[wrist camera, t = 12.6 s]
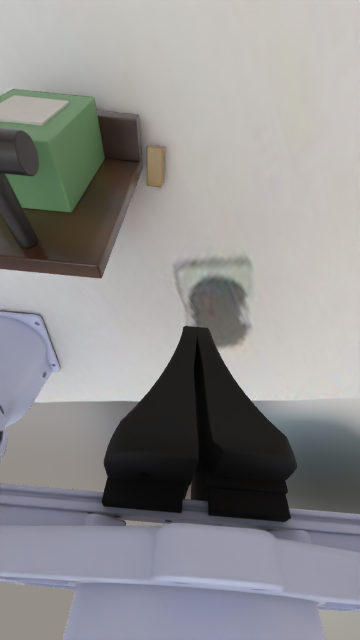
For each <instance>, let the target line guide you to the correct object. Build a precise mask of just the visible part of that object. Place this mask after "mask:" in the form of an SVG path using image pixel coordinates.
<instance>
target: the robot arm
mask: <svg viewBox="0 0 360 640" xmlns="http://www.w3.org/2000/svg"><path fill="white" fill-rule="evenodd" d="M59 371H60V366H59V364H58V361H57V358H56V355H55V353H54V350H53V347H52V345H51V342H50V339H49V336H48V334H47V331H46V328H45V326H44V323H43V320H42V318H41V317H40V316H39V315H33V314H23V313H12V312H2V311H0V461H1V460H2V458H3V455H4V453H5V450H6V446H7V440H8V434H7V432H6V431H5V430H4V428H5V427H7V426H10V425H12V424H13V423H15V422H17V421H18V420H19V419H21V418H22V417H23V416H24V415H25V414H26V413H27V412H28V410H29V409H30V407H31V406H32V404H33V402H34V401H35V399H36V397H37V396H38V394H39V392H40V391H41V389H42V387H43V386H44V384H45V382H46V381H47V379H48V377H49V376H50V374H51V372H59ZM104 467H105V470H106V473H107V476H108V478H107V482H106V486H105V490H104V492H95V491H84V490H73V489H61V488H50V487H38V486H27V485H14V484H4V483H0V582H3V583H14V584H25V585H35V586H45V587H55V588H66V589H75V594H74V597H73V601H72V605H71V609H70V613H69V616H68V620H67V624H66V628H65V631H64V635H63V639H62V640H326V639H325V635H324V631H323V627H322V623H321V619H320V615H319V611H318V609H324V610H338V611H354V612H360V514H348V513H337V512H326V511H315V510H302V509H292V508H289V507H288V503H287V499H286V495H285V494H286V493H287V492H288V490H287V486H286V482H285V480H287V479H288V478H289V477H290V476H291V475H292V474H293V473H294V471H295V470H296V468H297V463H296V460H295V456H294V454H293V451H292V449H291V446H290V444H289V442H288V439H287V437H286V436H285V435H284V434H283V433H282V432H281V431H280V430H278V429H277V428H276V427H275V426H274V425H273V424H272V423H271V422H270V421H269V420H268V419H267V418H266V417H265V416H264V415H263V414H262V413H261V412H260V411H259V410H258V408H257V407H256V406H255V405H254V404H253V403H252V402H251V400H250V399H249V398H248V397H247V396H246V394H245V393H244V392H243V390H242V389H241V388H240V387H239V385H238V384H237V382H236V381H235V379H234V378H233V376H232V375H231V373H230V372H229V370H228V368H227V367H226V365H225V363H224V362H223V360H222V358H221V356H220V354H219V352H218V350H217V348H216V346H215V344H214V341H213V339H212V336H211V333H210V330H209V329H208V328H201V327H191V326H185V327H183V332H182V335H181V338H180V341H179V344H178V346H177V348H176V350H175V352H174V354H173V356H172V358H171V360H170V362H169V363H168V365H167V367H166V368H165V370H164V372H163V373H162V374H161V376H160V377H159V379H158V380H157V382H156V383H155V384H154V386H153V387H152V388H151V389H150V391H149V392H148V393H147V394H146V395H145V396H144V398H143V399H142V400H141V401H140V402H139V403H138V404H137V405H136V407H135V408H134V409H133V410H132V411H131V412H130V413H128V414H127V416H126V417H124V418H123V419H122V420H121V421H120V423H119V425H118V427H117V428H116V430H115V432H114V434H113V436H112V438H111V440H110V443H109V445H108V448H107V451H106V455H105V458H104ZM191 481H192V485H191V500H188V499H185V497H186V493H187V490H188V487H189V485H190V484H191ZM124 520H131V521H144V522H155V523H166V524H164V525H162V526H126V522H125V521H124Z"/></svg>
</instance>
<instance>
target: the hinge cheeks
mask: <svg viewBox="0 0 360 640" xmlns="http://www.w3.org/2000/svg"><path fill="white" fill-rule="evenodd" d="M164 159H165V147H164V146H155V145H150V146H147V185H148V186H156V187H161V186H162V185H163V183H164Z"/></svg>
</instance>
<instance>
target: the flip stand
mask: <svg viewBox="0 0 360 640" xmlns="http://www.w3.org/2000/svg"><path fill="white" fill-rule="evenodd" d="M97 116H98V122H99V127H100V133H101V139H102V145H103V150H104V156H105V159H104V161H103V162H102V164H101V165H100V167H99V169H98V170H97V172H96V174H95V175H94V177H93V179H92V180H91V182H90V184H89V185H88V187H87V188H86V190H85V192H84V193H83V195H82V197H81V198H80V200H79V202H78V203H77V205H76V207H75V208H74V210H73V211H72V212H71V213H69V212H59V211H49V210H39V209H29V208H22V206H21V204H20V202H19V200H18V198H17V196H16V194H15V192H14V190H13V188H12V187H11V185H10V183H9V181H8V179H7V177H6V175H5V174H12V175H22V176H34V175H36V174H37V172H38V169H39V157H38V152H37V149H36V146H35V144H34V142H33V140H32V138H31V137H30V136H29V135H28V134H27V133H26V132H25V131H23V130H17V129H7V128H0V269H7V270H18V271H28V272H39V273H49V274H59V275H70V276H80V277H90V278H102V276H103V274H104V271H105V268H106V265H107V263H108V260H109V257H110V255H111V252H112V249H113V246H114V244H115V241H116V238H117V236H118V233H119V230H120V227H121V225H122V222H123V219H124V217H125V214H126V211H127V208H128V206H129V203H130V200H131V198H132V195H133V192H134V189H135V187H136V184H137V181H138V179H139V176H140V173H141V170H142V157H141V156H142V152H141V135H140V119H139V115H137V114H127V113H118V112H108V111H99V110H97Z"/></svg>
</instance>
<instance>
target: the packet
mask: <svg viewBox="0 0 360 640" xmlns="http://www.w3.org/2000/svg"><path fill="white" fill-rule="evenodd" d="M0 128H7V129H17V130H23V131H25V132H26V133H27V134H28V135H29V136H30V137H31V138H32V140H33V142H34V144H35V146H36V149H37V152H38V157H39V169H38V172H37V174H36V175H34V176H22V175H12V174H5V175H6V177H7V179H8V181H9V183H10V185H11V187H12V188H13V190H14V192H15V194H16V196H17V198H18V200H19V202H20V204H21V206H22V208H29V209H39V210H49V211H59V212H69V213H71V212H72V211H73V210H74V208H75V207H76V205H77V203H78V202H79V200H80V198H81V197H82V195H83V193H84V192H85V190H86V188H87V187H88V185H89V184H90V182H91V180H92V179H93V177H94V175H95V174H96V172H97V170H98V169H99V167H100V165H101V164H102V162H103V161H104V159H105V156H104V150H103V145H102V139H101V133H100V127H99V122H98V116H97V110H96V104H95V99H94V98H93V97H85V96H76V95H66V94H57V93H47V92H38V91H28V90H18V89H13V90H11V91H9V92H7V93H5V94H3V95H1V96H0Z"/></svg>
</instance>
